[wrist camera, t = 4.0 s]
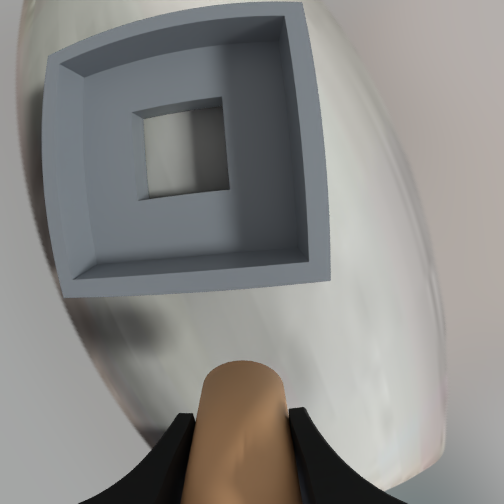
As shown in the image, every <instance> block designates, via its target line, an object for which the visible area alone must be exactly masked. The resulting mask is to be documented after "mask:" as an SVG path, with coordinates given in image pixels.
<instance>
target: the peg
mask: <svg viewBox="0 0 504 504" xmlns="http://www.w3.org/2000/svg"><path fill="white" fill-rule="evenodd" d="M180 504H303V503H302V497H301V490H300V484H299V478H298V471H297V465H296V459H295V453H294V446H293V440H292V435H291V429H290V423H289V416H288V410H287V404H286V398H285V392H284V386H283V382H282V380H281V378H280V377H279V375H278V374H277V373H276V372H275V371H274V370H272V369H271V368H269V367H267V366H266V365H263V364H261V363H257V362H253V361H232V362H228V363H225V364H222V365H220V366H218V367H216V368H215V369H213V370H212V371H211V372H210V373H209V374H208V375H207V377H206V378H205V380H204V383H203V388H202V393H201V398H200V403H199V408H198V413H197V418H196V423H195V428H194V433H193V438H192V443H191V449H190V454H189V459H188V464H187V470H186V475H185V481H184V486H183V492H182V497H181V503H180Z"/></svg>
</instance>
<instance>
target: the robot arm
mask: <svg viewBox="0 0 504 504" xmlns="http://www.w3.org/2000/svg"><path fill="white" fill-rule="evenodd" d="M195 423H196V422H195V419H194V416H193V413H179V414H178V415H177V416H176V418H175V419H174V421H173V422H172V424H171V425H170V427H169V428H168V429H167V431H166V432H165V434H164V435H163V436H162V438H161V439H160V440H159V441H158V443H157V444H156V445H155V447H154V448H153V449H152V450H151V451H150V452H149V453H148V455H147V456H146V457H145V458H144V459H143V460H142V461H141V462H140V463H139V464H138V465H137V466H136V467H135V468H134V469H133V470H132V471H131V472H130V473H128V474H127V475H126V476H125V477H123V478H122V479H121V480H119V481H118V482H117V483H115V484H114V485H112V486H111V487H109V488H108V489H106V490H104V491H103V492H101V493H99V494H98V495H96V496H94V497H92V498H90V499H88V500H85V501H83V502H81V503H79V504H180V503H181V497H182V492H183V486H184V481H185V475H186V470H187V464H188V459H189V454H190V449H191V443H192V438H193V433H194V428H195ZM289 423H290V429H291V435H292V440H293V446H294V453H295V459H296V465H297V471H298V478H299V484H300V490H301V497H302V502H303V504H407V503H405V502H403V501H401V500H399V499H397V498H395V497H393V496H391V495H389V494H387V493H385V492H384V491H382V490H380V489H378V488H377V487H376V486H374V485H373V484H371V483H370V482H368V481H367V480H365V479H364V478H363V477H361V476H360V475H359V474H358V473H356V472H355V471H354V470H353V469H352V468H351V467H350V466H348V465H347V464H346V463H345V462H344V461H343V460H342V459H341V458H340V457H339V456H338V454H337V453H336V452H335V451H334V450H333V449H332V448H331V447H330V445H329V444H328V443H327V442H326V440H325V439H324V438H323V436H322V435H321V434H320V432H319V431H318V429H317V428H316V426H315V425H314V423H313V422H312V420H311V418H310V416H309V414H308V413H307V410H306V409H305V408H304V407H300V408H292V409H289Z"/></svg>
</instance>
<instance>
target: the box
mask: <svg viewBox="0 0 504 504" xmlns="http://www.w3.org/2000/svg"><path fill="white" fill-rule="evenodd" d="M219 106H223V115H224V128H225V140H226V152H227V163H228V175H229V186H230V189H227V190H217V191H208V192H199V193H190V194H182V195H174V196H167V197H159V198H152V199H149V191H148V181H147V170H146V158H145V143H144V123H143V119H146V118H150V117H155V116H160V115H166V114H171V113H177V112H183V111H189V110H196V109H203V108H211V107H219ZM42 169H43V184H44V195H45V205H46V213H47V220H48V227H49V233H50V239H51V245H52V250H53V255H54V260H55V265H56V269H57V274H58V278H59V282H60V286H61V290H62V293H63V297H64V298H81V297H114V296H139V295H159V294H177V293H193V292H208V291H223V290H236V289H248V288H260V287H272V286H282V285H293V284H303V283H313V282H323V281H331V268H330V224H329V202H328V185H327V171H326V159H325V147H324V137H323V127H322V119H321V110H320V102H319V95H318V87H317V80H316V74H315V67H314V61H313V55H312V49H311V44H310V38H309V33H308V28H307V23H306V18H305V13H304V9H303V4H302V2H247V3H233V4H223V5H214V6H206V7H199V8H193V9H187V10H182V11H177V12H172V13H167V14H163V15H158V16H154V17H150V18H146V19H143V20H139V21H136V22H132V23H129V24H126V25H122V26H119V27H116V28H113V29H110V30H107V31H105V32H102V33H99V34H97V35H94V36H91V37H89V38H86V39H84V40H82V41H79V42H77V43H75V44H72V45H70V46H68V47H66V48H64V49H61V50H59V51H57V52H55V53H53V54H51V55H49V56H48V60H47V67H46V75H45V84H44V94H43V109H42Z"/></svg>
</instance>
